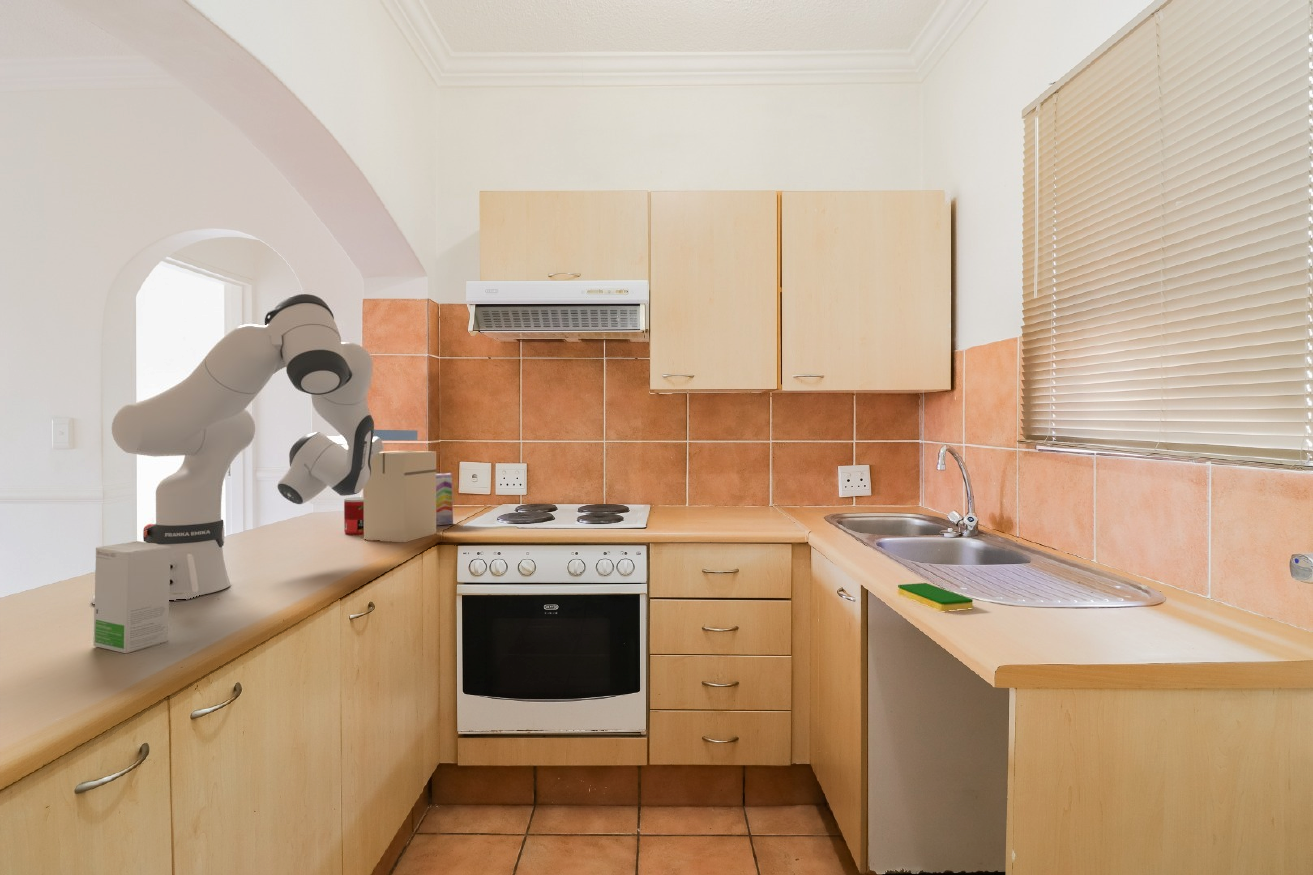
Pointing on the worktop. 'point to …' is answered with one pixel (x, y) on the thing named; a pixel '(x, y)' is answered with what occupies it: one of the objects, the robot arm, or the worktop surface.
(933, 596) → the dish sponge
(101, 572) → the skincare box
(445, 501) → the cake pan box
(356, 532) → the canned food
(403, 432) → the bar
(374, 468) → the kraft carton
